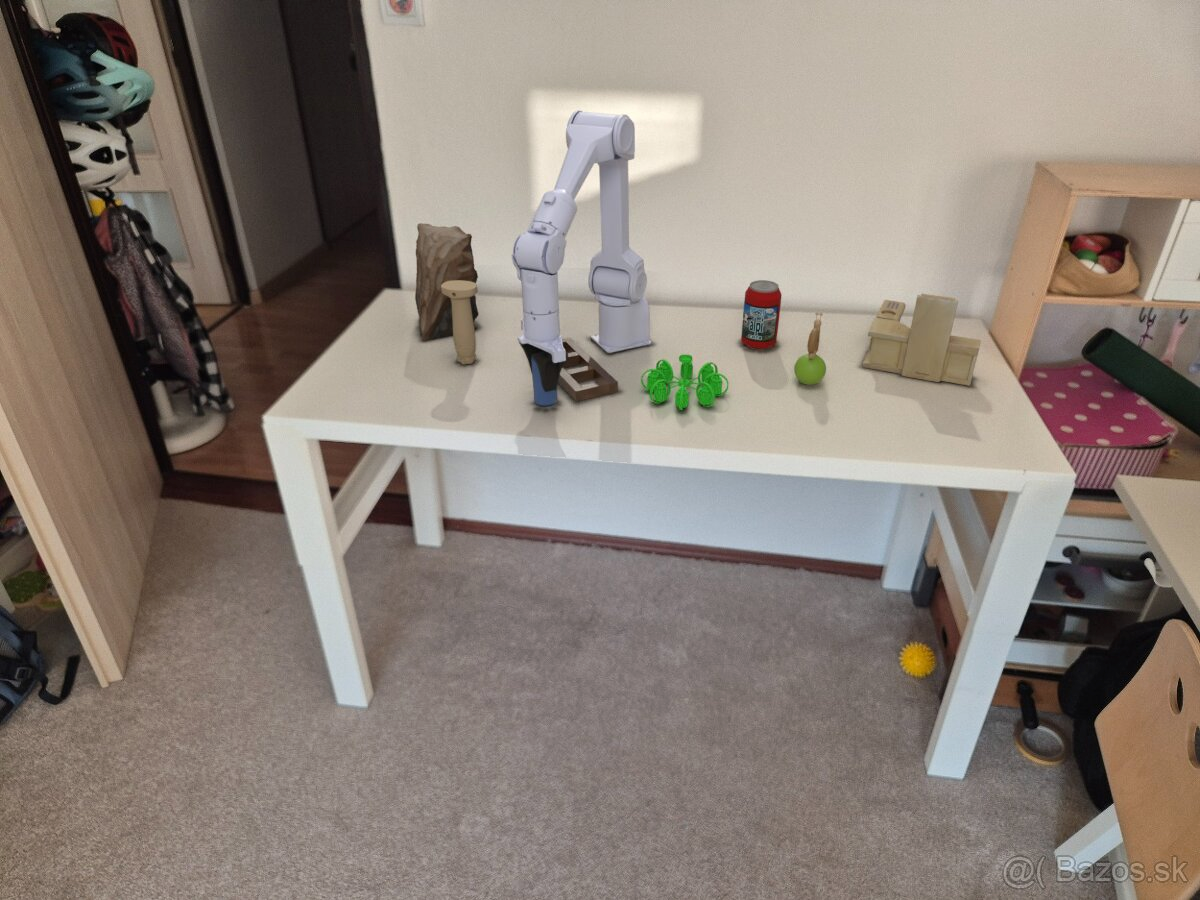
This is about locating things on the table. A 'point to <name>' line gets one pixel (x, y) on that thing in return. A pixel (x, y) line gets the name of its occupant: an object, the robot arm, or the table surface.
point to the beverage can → (761, 314)
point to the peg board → (584, 374)
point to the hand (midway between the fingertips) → (544, 384)
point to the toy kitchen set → (922, 342)
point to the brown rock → (441, 276)
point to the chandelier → (684, 382)
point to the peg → (541, 389)
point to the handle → (462, 318)
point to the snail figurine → (811, 359)
